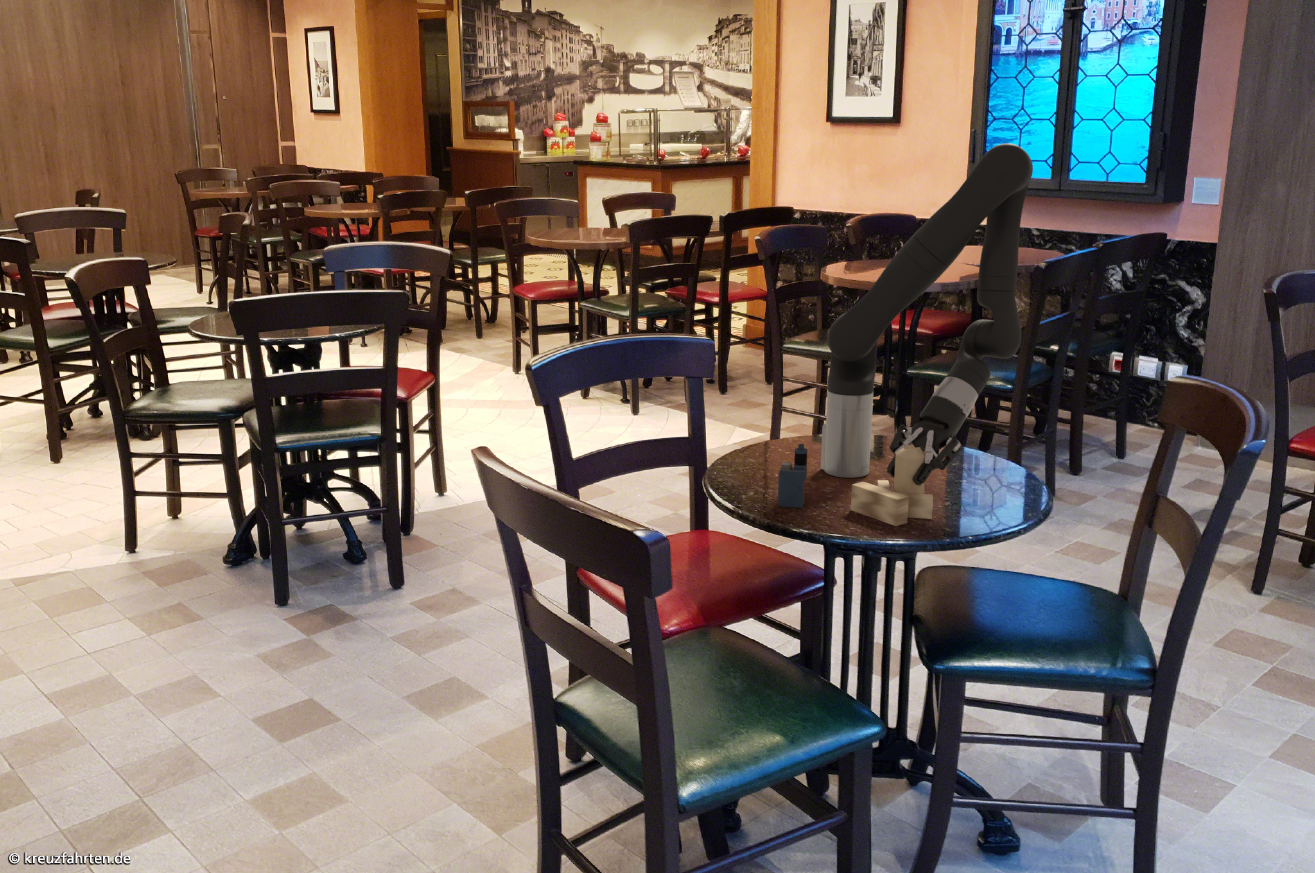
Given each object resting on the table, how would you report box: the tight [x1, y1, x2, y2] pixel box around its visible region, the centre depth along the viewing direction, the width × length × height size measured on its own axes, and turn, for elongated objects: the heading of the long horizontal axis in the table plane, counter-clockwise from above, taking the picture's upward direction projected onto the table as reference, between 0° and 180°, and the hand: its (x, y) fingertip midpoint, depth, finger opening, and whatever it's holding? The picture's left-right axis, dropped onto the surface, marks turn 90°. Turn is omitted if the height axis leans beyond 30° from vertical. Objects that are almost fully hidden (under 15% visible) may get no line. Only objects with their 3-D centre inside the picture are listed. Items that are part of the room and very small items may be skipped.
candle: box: [893, 444, 926, 494], centre depth 202 cm, size 6×6×10 cm
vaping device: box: [777, 443, 808, 509], centre depth 204 cm, size 3×5×12 cm, turn 78°
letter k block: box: [850, 479, 934, 527], centre depth 201 cm, size 13×10×5 cm
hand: (903, 478), depth 202 cm, fingers closed on candle, 5 cm apart
